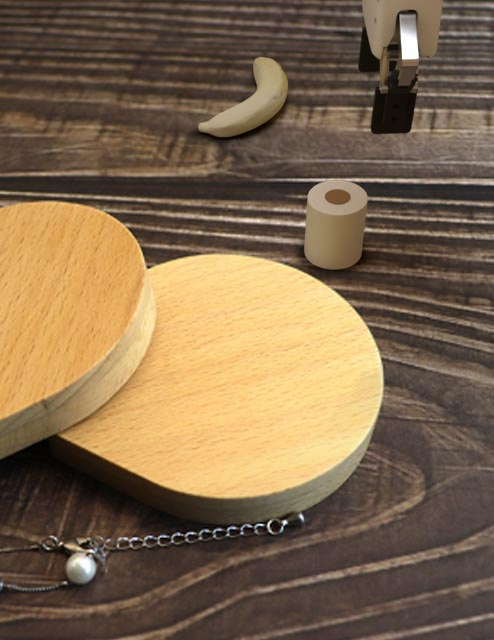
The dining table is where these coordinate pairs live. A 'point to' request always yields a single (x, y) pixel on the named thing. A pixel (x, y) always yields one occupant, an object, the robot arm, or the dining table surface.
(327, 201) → the paper roll
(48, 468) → the dining table surface
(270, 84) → the fruit
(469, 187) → the dining table surface
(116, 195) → the dining table surface
